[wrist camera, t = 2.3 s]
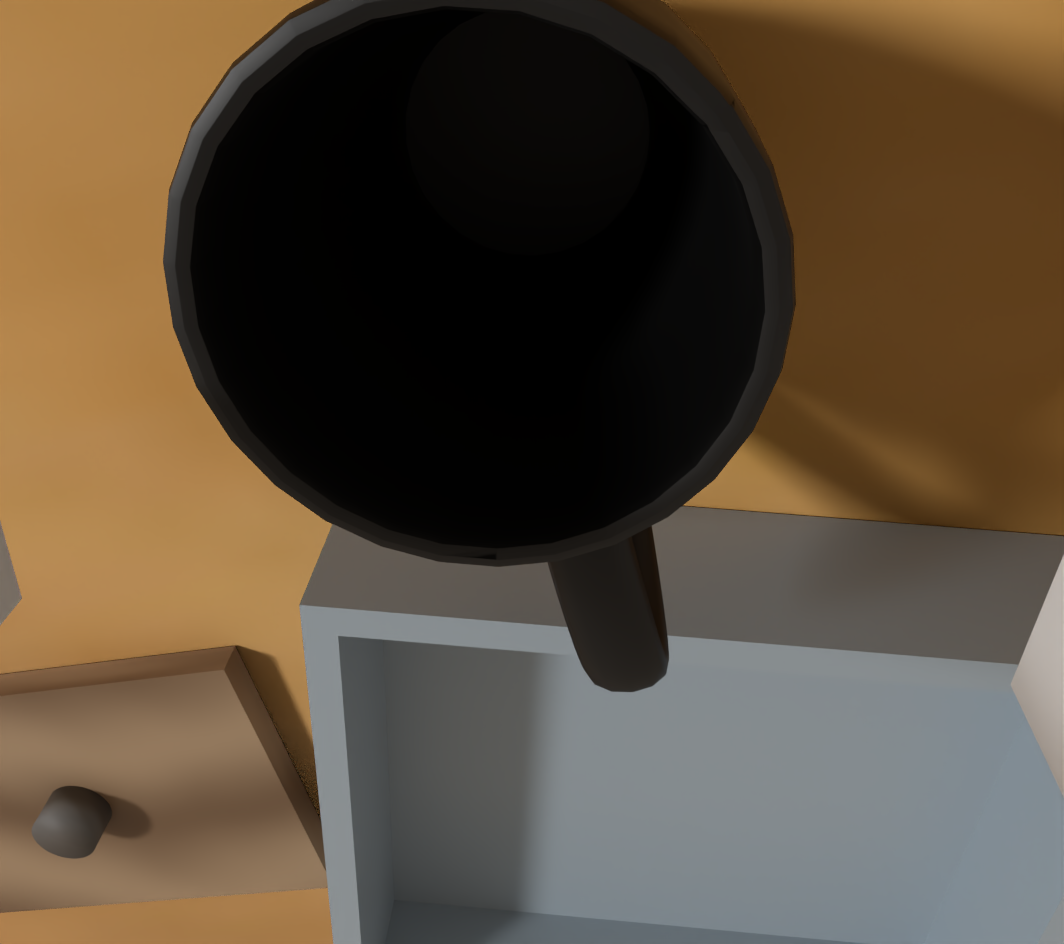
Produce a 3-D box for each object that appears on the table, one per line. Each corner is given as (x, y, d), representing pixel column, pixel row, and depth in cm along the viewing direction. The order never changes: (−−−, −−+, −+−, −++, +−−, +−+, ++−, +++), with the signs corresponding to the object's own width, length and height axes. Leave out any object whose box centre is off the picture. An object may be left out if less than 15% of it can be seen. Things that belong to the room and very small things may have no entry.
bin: (350, 480, 26) (299, 604, 22) (1119, 540, 25) (1221, 681, 21) (375, 896, 35) (342, 1039, 31) (935, 948, 35) (979, 1101, 30)
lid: (-173, 695, 32) (-222, 749, 30) (235, 645, 29) (209, 700, 27) (-18, 890, 37) (-51, 946, 35) (340, 861, 34) (325, 920, 33)
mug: (461, 482, 26) (392, 774, 18) (269, -15, 20) (34, 87, 12) (783, 414, 24) (868, 702, 16) (681, -152, 18) (735, -143, 10)
